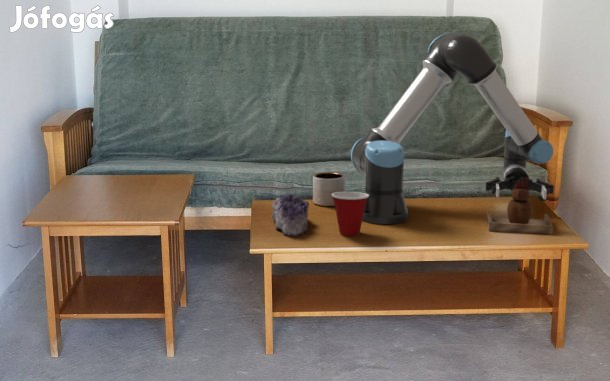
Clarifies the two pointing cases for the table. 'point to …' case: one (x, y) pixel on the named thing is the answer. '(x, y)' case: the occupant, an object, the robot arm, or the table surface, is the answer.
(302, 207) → the geode
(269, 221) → the table surface
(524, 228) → the tray
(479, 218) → the table surface
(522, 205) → the wooden figurine
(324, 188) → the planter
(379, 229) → the table surface
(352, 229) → the plastic cup
